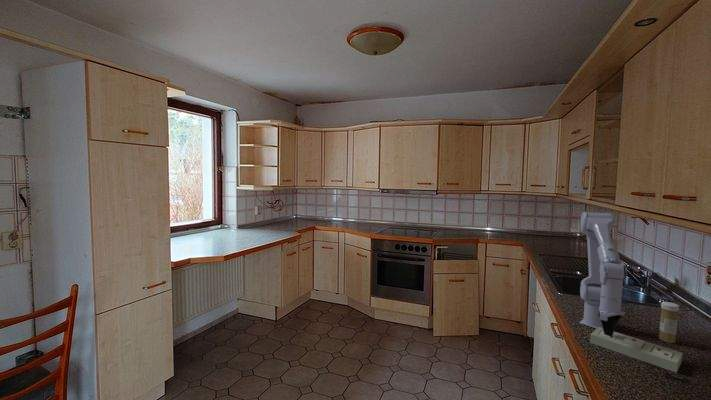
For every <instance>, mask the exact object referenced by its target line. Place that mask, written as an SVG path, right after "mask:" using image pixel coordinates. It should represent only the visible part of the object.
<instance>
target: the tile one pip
mask: <svg viewBox="0 0 711 400" xmlns="http://www.w3.org/2000/svg"><path fill="white" fill-rule="evenodd" d="M644 341H645V340H643V339H639V338H638V337H635V336H634V337H633V336H631V335H627V337H626V338H625V339H624V343H626V344H629V345H632V346H635V347H638V348H641V349H642V348H643V347H644Z"/></svg>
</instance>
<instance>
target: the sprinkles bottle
mask: <svg viewBox="0 0 711 400" xmlns="http://www.w3.org/2000/svg"><path fill="white" fill-rule="evenodd" d="M660 307H661V313H660V318H659V319H660V322H659V332H658V333H659V334H658V339H659V340H660V341H663V342H666V343H670V344H675V343H676V342H677V341H676V338H677V328H678V321H679V320H678V317H679V311H680V305H679V304H678V303H674V302H670V301H662V302H661V304H660Z"/></svg>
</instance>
